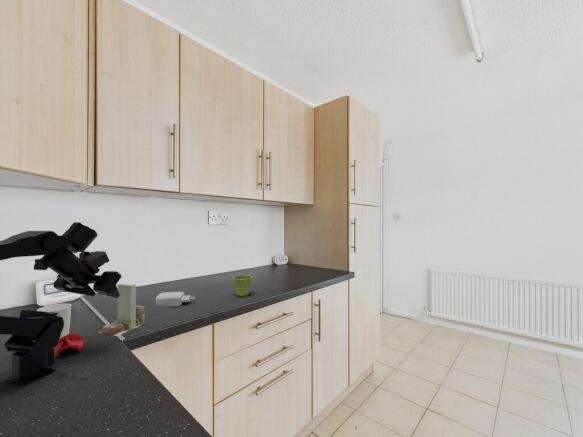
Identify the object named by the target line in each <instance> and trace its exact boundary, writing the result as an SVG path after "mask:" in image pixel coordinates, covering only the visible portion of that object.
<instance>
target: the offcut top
mask: <svg viewBox="0 0 583 437" xmlns="http://www.w3.org/2000/svg"><path fill="white" fill-rule="evenodd" d="M122 327H123V324H121V323H115V322H113V321H112V322H111V323H109V324H106V325H103V328H102V329H104V330H110V331H115V330H117V329H119V328H122Z"/></svg>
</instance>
